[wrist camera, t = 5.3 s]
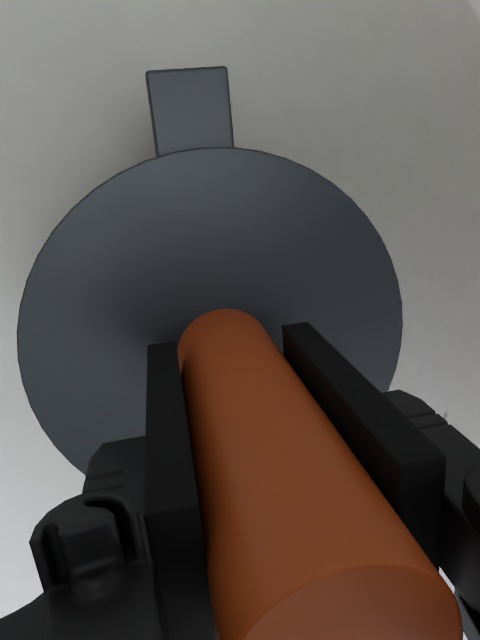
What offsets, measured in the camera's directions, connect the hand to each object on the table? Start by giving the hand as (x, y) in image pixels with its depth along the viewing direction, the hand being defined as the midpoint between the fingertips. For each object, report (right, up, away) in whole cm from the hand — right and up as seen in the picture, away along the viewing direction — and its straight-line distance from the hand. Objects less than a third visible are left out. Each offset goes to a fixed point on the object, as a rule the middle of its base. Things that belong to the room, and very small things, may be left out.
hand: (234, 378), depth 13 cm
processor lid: (0, +1, +2) cm, 3 cm away
